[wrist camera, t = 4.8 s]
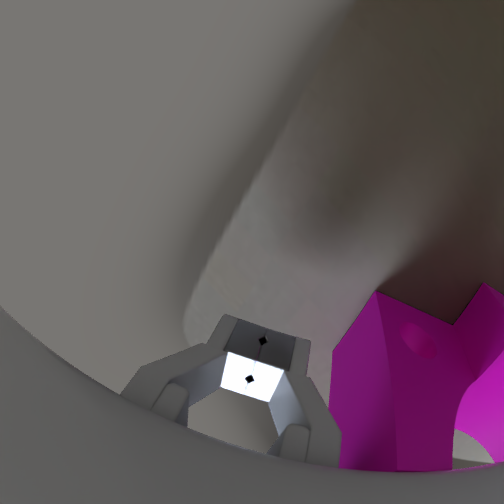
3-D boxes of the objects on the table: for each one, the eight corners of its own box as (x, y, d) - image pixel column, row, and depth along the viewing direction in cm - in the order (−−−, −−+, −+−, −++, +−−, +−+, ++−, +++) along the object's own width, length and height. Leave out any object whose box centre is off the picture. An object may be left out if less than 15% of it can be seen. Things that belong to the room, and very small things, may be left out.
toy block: (559, 336, 8) (600, 418, 1) (501, 401, 11) (522, 486, 4) (406, 237, 9) (488, 406, 3) (332, 351, 12) (314, 504, 6)
